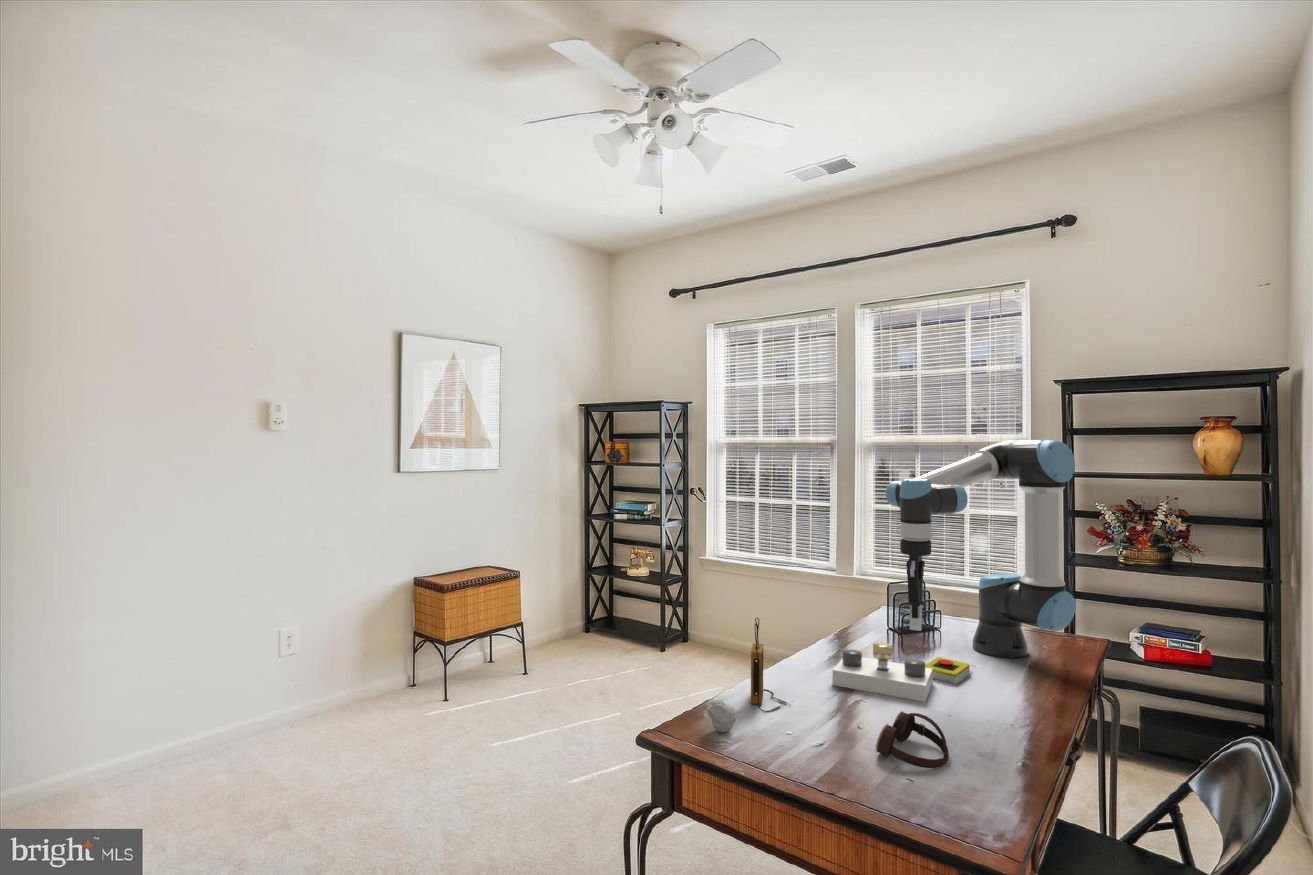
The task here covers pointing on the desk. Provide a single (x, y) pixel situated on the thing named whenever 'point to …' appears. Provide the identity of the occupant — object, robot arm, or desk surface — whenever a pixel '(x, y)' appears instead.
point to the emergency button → (948, 671)
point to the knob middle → (883, 655)
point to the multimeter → (758, 673)
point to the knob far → (852, 658)
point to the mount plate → (883, 679)
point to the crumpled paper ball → (721, 715)
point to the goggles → (902, 732)
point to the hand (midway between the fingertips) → (915, 629)
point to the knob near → (914, 668)
